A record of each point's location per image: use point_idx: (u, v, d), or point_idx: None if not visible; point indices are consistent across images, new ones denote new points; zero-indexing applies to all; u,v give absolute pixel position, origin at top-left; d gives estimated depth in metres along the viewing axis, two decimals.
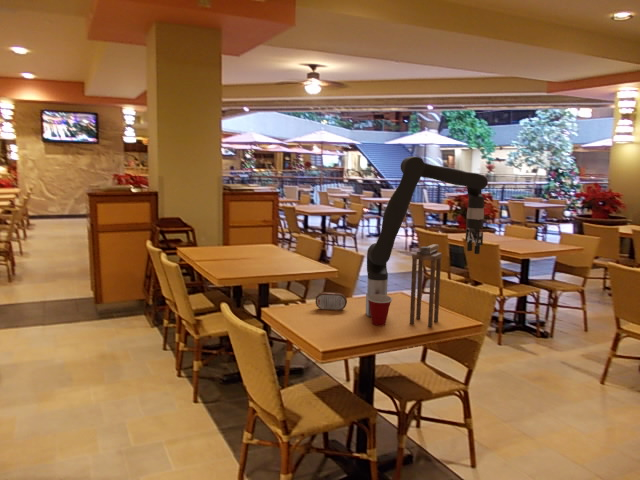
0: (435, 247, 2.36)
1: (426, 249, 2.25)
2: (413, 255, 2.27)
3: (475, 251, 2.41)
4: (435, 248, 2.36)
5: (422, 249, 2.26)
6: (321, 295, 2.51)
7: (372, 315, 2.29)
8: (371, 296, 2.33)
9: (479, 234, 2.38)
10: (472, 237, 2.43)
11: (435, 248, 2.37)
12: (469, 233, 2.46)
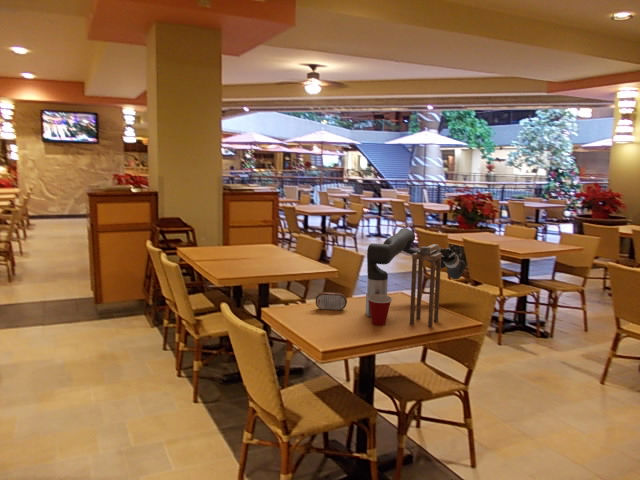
0: (435, 247, 2.36)
1: (426, 249, 2.25)
2: (413, 255, 2.27)
3: (453, 246, 2.49)
4: (435, 248, 2.36)
5: (422, 249, 2.26)
6: (321, 295, 2.51)
7: (372, 315, 2.29)
8: (371, 296, 2.33)
9: None
10: None
11: (435, 248, 2.37)
12: None
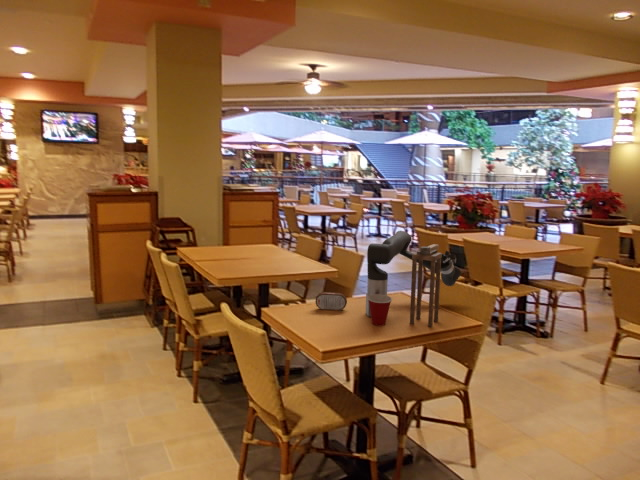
0: (435, 247, 2.36)
1: (426, 249, 2.25)
2: (413, 255, 2.27)
3: None
4: (435, 248, 2.36)
5: (422, 249, 2.26)
6: (321, 295, 2.51)
7: (372, 315, 2.29)
8: (371, 296, 2.33)
9: None
10: None
11: (435, 248, 2.37)
12: None
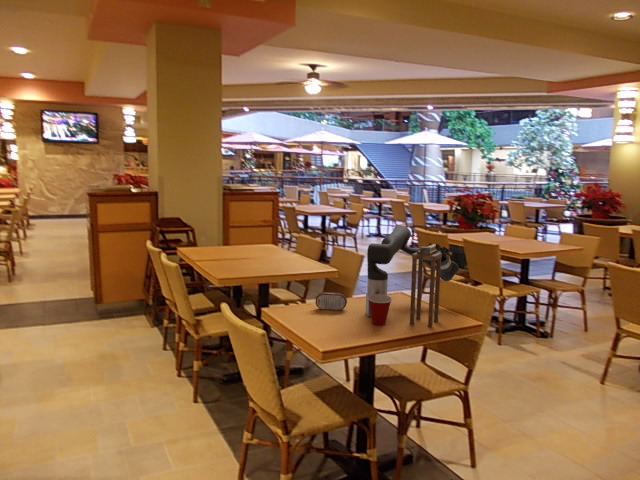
0: None
1: (426, 249, 2.25)
2: (413, 255, 2.27)
3: None
4: (435, 248, 2.36)
5: (422, 249, 2.26)
6: (321, 295, 2.51)
7: (372, 315, 2.29)
8: (371, 296, 2.33)
9: (450, 252, 2.41)
10: None
11: (435, 248, 2.37)
12: None
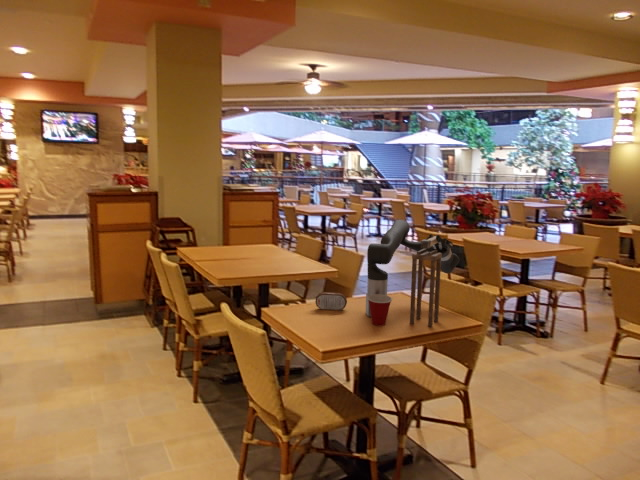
0: (436, 239, 2.36)
1: (427, 242, 2.25)
2: (413, 255, 2.27)
3: None
4: (436, 240, 2.36)
5: (423, 242, 2.26)
6: (321, 295, 2.51)
7: (372, 315, 2.29)
8: (371, 296, 2.33)
9: (451, 243, 2.41)
10: None
11: (436, 240, 2.37)
12: None
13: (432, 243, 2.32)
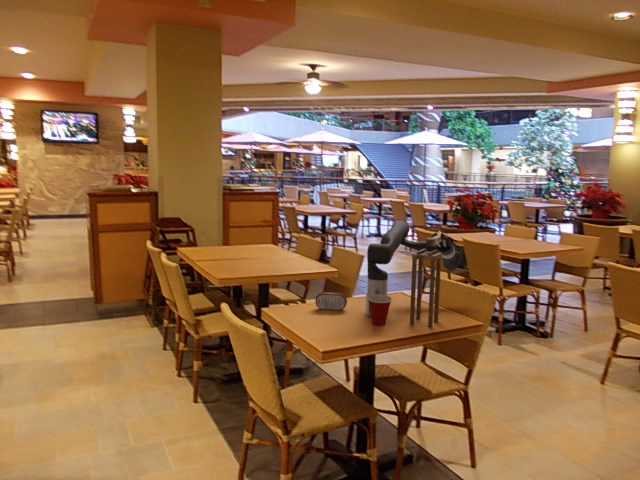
0: (440, 238, 2.42)
1: (432, 240, 2.31)
2: (413, 255, 2.27)
3: None
4: (440, 238, 2.43)
5: (428, 240, 2.32)
6: (321, 295, 2.51)
7: (372, 315, 2.29)
8: (371, 296, 2.33)
9: (455, 241, 2.47)
10: None
11: None
12: None
13: (437, 241, 2.38)
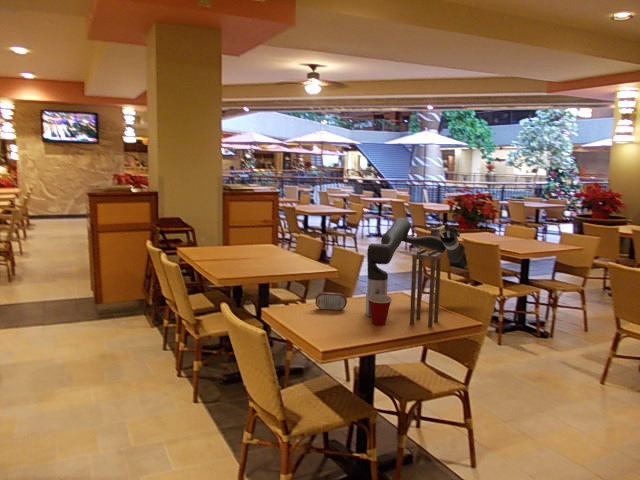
0: (444, 228, 2.48)
1: (436, 230, 2.36)
2: (413, 255, 2.27)
3: None
4: (444, 229, 2.48)
5: (432, 230, 2.37)
6: (321, 295, 2.51)
7: (372, 315, 2.29)
8: (371, 296, 2.33)
9: (459, 232, 2.52)
10: None
11: None
12: None
13: (441, 231, 2.43)
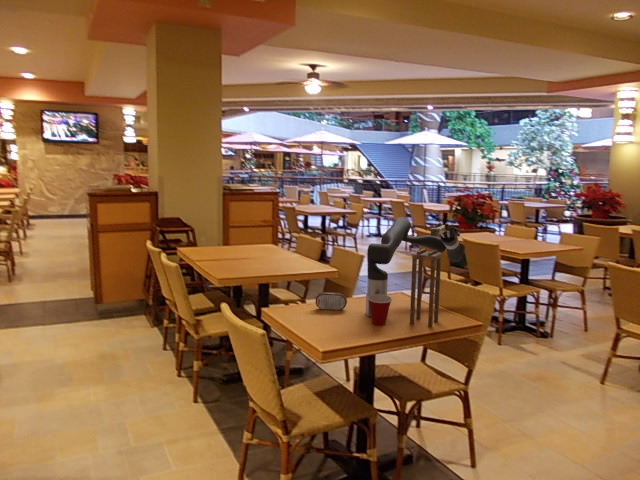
0: (444, 228, 2.48)
1: (436, 230, 2.36)
2: (413, 255, 2.27)
3: None
4: (444, 229, 2.48)
5: (432, 230, 2.37)
6: (321, 295, 2.51)
7: (372, 315, 2.29)
8: (371, 296, 2.33)
9: (459, 232, 2.52)
10: None
11: (445, 229, 2.48)
12: None
13: (441, 231, 2.43)
